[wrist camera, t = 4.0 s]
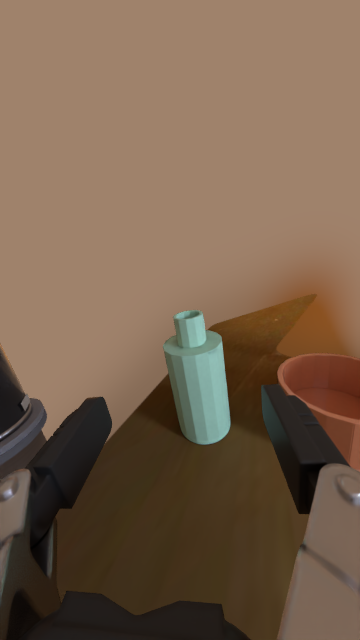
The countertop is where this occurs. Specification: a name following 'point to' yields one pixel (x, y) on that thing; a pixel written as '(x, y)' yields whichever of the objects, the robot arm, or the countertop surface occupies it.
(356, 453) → the terracotta bowl
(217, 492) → the countertop surface
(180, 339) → the bottle
